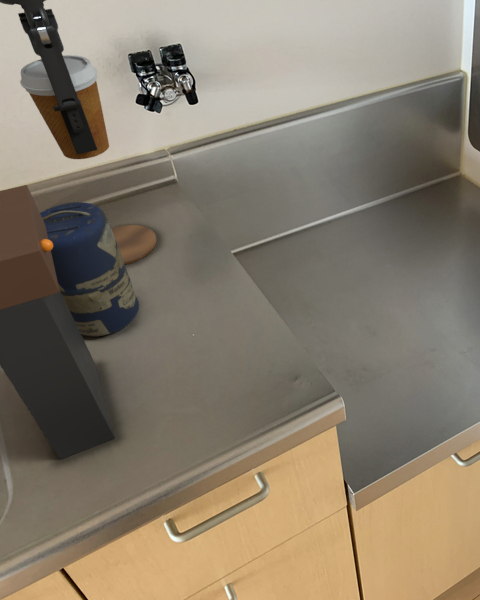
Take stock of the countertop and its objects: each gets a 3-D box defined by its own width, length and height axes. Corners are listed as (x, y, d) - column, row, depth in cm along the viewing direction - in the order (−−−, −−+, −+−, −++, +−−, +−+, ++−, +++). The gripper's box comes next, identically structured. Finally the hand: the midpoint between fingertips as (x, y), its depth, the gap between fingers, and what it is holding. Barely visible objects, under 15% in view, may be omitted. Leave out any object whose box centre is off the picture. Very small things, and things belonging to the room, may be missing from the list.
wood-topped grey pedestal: (115, 360, 81) (36, 182, 63) (136, 430, 73) (50, 247, 55) (47, 384, 78) (-57, 203, 60) (60, 459, 70) (-57, 275, 52)
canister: (132, 340, 84) (88, 232, 72) (61, 343, 84) (5, 235, 72) (148, 294, 91) (111, 190, 79) (83, 297, 91) (36, 192, 79)
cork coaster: (70, 255, 99) (69, 253, 98) (121, 221, 106) (120, 218, 106) (122, 274, 95) (121, 271, 95) (170, 237, 102) (170, 234, 102)
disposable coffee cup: (111, 164, 86) (81, 79, 78) (41, 166, 85) (4, 81, 77) (128, 133, 93) (102, 52, 85) (63, 135, 92) (32, 55, 84)
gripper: (61, -22, 67) (123, 163, 82) (41, -59, 81) (97, 106, 96) (-15, -13, 65) (63, 177, 80) (-22, -52, 78) (45, 116, 93)
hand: (82, 138), depth 88 cm, fingers closed on disposable coffee cup, 8 cm apart
